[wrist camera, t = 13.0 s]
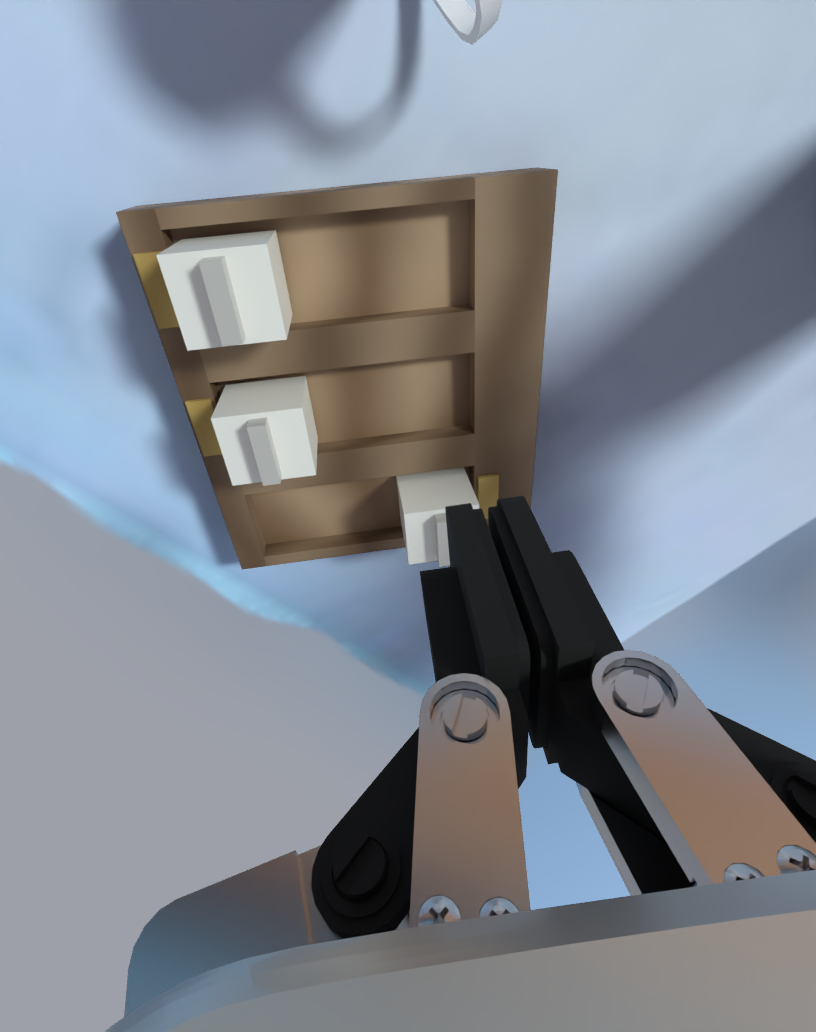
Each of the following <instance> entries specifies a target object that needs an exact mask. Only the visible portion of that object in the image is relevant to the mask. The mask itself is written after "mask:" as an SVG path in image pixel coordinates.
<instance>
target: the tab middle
mask: <svg viewBox="0 0 816 1032" xmlns="http://www.w3.org/2000/svg"><path fill="white" fill-rule="evenodd" d="M211 421H212V424H213V427H214V430H215V433H216V436H217V440H218V443H219V446H220V449H221V452H222V455H223V458H224V461H225V464H226V467H227V470H228V473H229V476H230V479H231V482H232V485H233V486H235V485H243V484H250V483H258V482H262V484H263V486H267V485H275V484H281V480H282V479H290V478H298V477H306V476H314V475H316V468H317V444H318V436H317V431H316V426H315V421H314V416H313V411H312V406H311V401H310V396H309V390H308V385H307V380H306V376H297V377H289V378H280V379H271V380H263V381H254V382H246V383H237V384H228V385H225V387H224V390H223V392H222V394H221V397H220V399H219V401H218V403H217V406H216V408H215V410H214V412H213V415H212V417H211Z"/></svg>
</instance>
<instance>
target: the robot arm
mask: <svg viewBox="0 0 816 1032" xmlns="http://www.w3.org/2000/svg"><path fill="white" fill-rule="evenodd" d="M445 511H446V524H447V535H448V547H449V559H450V567H448V568H441V569H434V570H427V571H420V576H421V584H422V591H423V599H424V606H425V613H426V620H427V627H428V633H429V640H430V647H431V653H432V660H433V667H434V673H435V680H436V683H435V684H434V685H433V686H432V687H430V688H429V690H428V691H427V693H426V695H425V696H424V698H423V700H422V705H421V710H420V721H419V728H418V729H417V730H416V731H415V732H414V734H413V735H412V736H411V737H410V738H409V740H408V741H407V742H406V743H405V744H404V745H403V747H402V748H401V749H400V750H399V751H398V753H397V754H396V755H395V756H394V757H393V759H392V760H391V761H390V762H389V764H388V765H387V766H386V767H385V768H384V769H383V771H382V772H381V773H380V774H379V775H378V777H377V778H376V779H375V780H374V781H373V782H372V784H371V785H370V786H369V787H368V788H367V790H366V791H365V792H364V793H363V794H362V796H361V797H360V798H359V799H358V800H357V802H356V803H355V804H354V805H353V806H352V807H351V809H350V810H349V811H348V812H347V814H346V815H345V816H344V817H343V818H342V819H341V821H340V822H339V823H338V824H337V825H336V826H335V828H334V829H333V830H332V831H331V832H330V834H329V835H328V836H327V838H326V839H325V841H324V842H323V844H322V845H321V846H318V847H316V848H314V849H311V850H309V851H306V852H304V853H301V854H299V855H298V854H297V852H296V851H293V852H290V853H288V854H285V855H283V856H280V857H278V858H276V859H273V860H271V861H268V862H266V863H263V864H261V865H259V866H256V867H254V868H251V869H249V870H246V871H244V872H242V873H239V874H237V875H234V876H232V877H229V878H227V879H225V880H222V881H220V882H217V883H215V884H212V885H210V886H207V887H205V888H203V889H200V890H198V891H195V892H193V893H191V894H188V895H186V896H183V897H181V898H178V899H176V900H174V901H173V902H171V903H170V904H168V905H167V906H165V907H163V908H162V909H160V910H159V911H158V912H157V913H156V914H155V916H153V918H152V919H151V920H150V921H149V922H148V923H147V924H146V925H145V927H144V928H143V930H142V932H141V934H140V936H139V938H138V940H137V942H136V943H135V945H134V948H133V952H132V956H131V960H130V964H129V969H128V979H127V992H126V1003H125V1015H124V1018H122V1019H121V1020H120V1021H118V1022H117V1023H115V1024H114V1025H112V1026H111V1027H110V1028H109V1029H108V1030H106V1032H816V761H815V760H813V759H811V758H809V757H806V756H805V755H802V754H801V753H798V752H797V751H794V750H792V749H790V748H788V747H786V746H784V745H782V744H780V743H778V742H776V741H774V740H772V739H770V738H768V737H766V736H764V735H761V734H759V733H757V732H755V731H753V730H751V729H749V728H747V727H745V726H743V725H741V724H739V723H737V722H735V721H732V720H731V719H728V718H726V717H724V716H722V715H720V714H718V713H716V712H714V711H712V710H710V709H708V708H706V707H705V705H704V704H703V703H702V702H701V700H700V699H699V698H698V697H697V696H696V694H695V693H694V692H693V691H692V689H691V688H690V687H689V686H688V685H687V683H686V682H685V681H684V679H683V678H682V677H681V676H680V674H678V673H677V672H676V671H675V670H674V669H673V668H672V667H671V666H670V665H669V664H668V663H666V662H664V661H663V660H661V659H659V658H658V657H656V656H653V655H650V654H647V653H645V652H641V651H631V650H624V649H623V647H622V645H621V643H620V641H619V639H618V637H617V636H616V634H615V632H614V630H613V628H612V626H611V624H610V622H609V620H608V619H607V617H606V615H605V613H604V611H603V609H602V607H601V605H600V603H599V602H598V600H597V598H596V596H595V594H594V592H593V590H592V588H591V586H590V585H589V583H588V581H587V579H586V577H585V575H584V573H583V571H582V569H581V568H580V566H579V564H578V562H577V560H576V558H575V557H574V555H573V554H572V552H570V551H569V550H568V551H561V552H554V553H551V551H550V549H549V547H548V544H547V542H546V540H545V538H544V536H543V534H542V532H541V530H540V528H539V526H538V524H537V521H536V519H535V517H534V515H533V513H532V511H531V509H530V507H529V505H528V503H527V500H526V499H525V497H524V496H517V497H510V498H503V499H498V500H497V505H496V506H494V507H489V508H488V525H487V522H486V519H485V516H484V513H483V510H482V509H481V508H480V509H473V507H472V505H471V503H467V504H460V505H453V506H446V507H445ZM528 732H529V735H530V739H531V742H532V745H533V747H534V748H541V747H543V749H544V752H545V756H546V759H547V762H548V764H551V763H558V764H559V767H560V770H561V772H562V773H563V774H565V775H566V776H568V777H569V778H571V779H573V780H574V781H576V783H577V787H578V790H579V793H580V795H581V797H582V799H583V801H584V803H585V805H586V807H587V809H588V811H589V813H590V815H591V817H592V819H593V821H594V823H595V825H596V827H597V829H598V831H599V833H600V835H601V837H602V839H603V841H604V843H605V845H606V847H607V849H608V851H609V853H610V855H611V857H612V859H613V861H614V863H615V865H616V867H617V869H618V871H619V873H620V875H621V877H622V879H623V881H624V883H625V885H626V887H627V889H628V891H629V893H630V895H631V896H627V897H620V898H613V899H606V900H599V901H592V902H585V903H579V904H571V905H564V906H557V907H550V908H544V909H536V910H531V909H530V900H529V890H528V881H527V871H526V862H525V851H524V842H523V832H522V823H521V813H520V803H519V794H518V789H519V787H520V786H521V784H522V783H523V781H524V779H525V778H526V767H527V747H528Z"/></svg>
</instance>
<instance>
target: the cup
mask: <svg viewBox="0 0 816 1032" xmlns="http://www.w3.org/2000/svg"><path fill="white" fill-rule="evenodd" d="M433 1H434V3H435V4H436V6H437V7H438V9H439V10H440V12H441V13H442V15H443V16H444V18H445V19H446V21H447V22H448V24H449V25H450V26H451V27H452V28H453V30H454V31H455V32H456V33H457V34H458V36H459V37H460V38H461V39H462V40H463V41H465V42H468V43H470V44H472V45H473V44H474V43H475V42H476V41H477V40H478V39H479V38H481V37H482V36H483V35H484V34H485V33H486V32H487V31H489V30H490V29H491V28H492V26H493V25H494V24H495V22H496V21H497V20H498V16H499V12H500V8H501V4H502V0H475V3H476V10H477V12H476V14H475V13H474V11H473V10H472V9H471V8H470V6H469V5H468V4H467V3H466V1H465V0H433Z"/></svg>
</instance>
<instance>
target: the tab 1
mask: <svg viewBox="0 0 816 1032" xmlns="http://www.w3.org/2000/svg"><path fill="white" fill-rule="evenodd" d="M156 256H157V259H158V262H159V265H160V268H161V271H162V274H163V277H164V280H165V284H166V287H167V290H168V293H169V296H170V299H171V302H172V305H173V308H174V311H175V314H176V317H177V320H178V323H179V326H180V329H181V332H182V335H183V338H184V342H185V345H186V348H187V351H189V350H198V349H207V348H216V347H225V346H234V345H243V344H252V343H261V342H270V341H279V340H287V336H288V332H289V328H290V323H291V319H292V309H291V304H290V299H289V294H288V289H287V283H286V278H285V273H284V268H283V263H282V258H281V253H280V248H279V243H278V238H277V233H276V230H271V231H261V232H251V233H241V234H231V235H221V236H211V237H201V238H191V239H182V240H180V241H178V242H177V243H175V244H173V245H172V246H170V247H169V248H167V249H165V250H164V251H162V252H160V253H159V254H157V255H156Z"/></svg>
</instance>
